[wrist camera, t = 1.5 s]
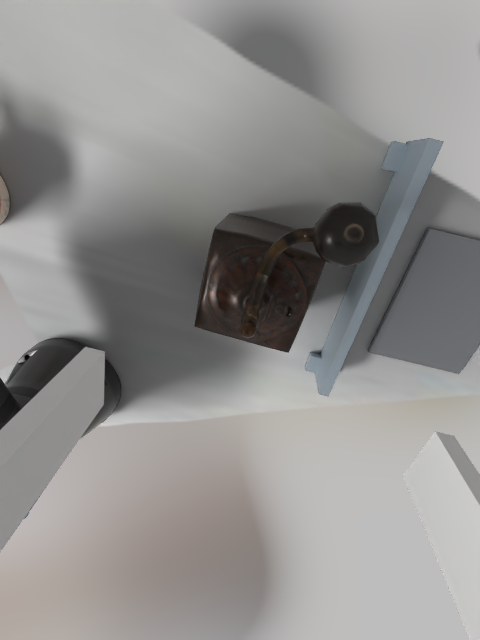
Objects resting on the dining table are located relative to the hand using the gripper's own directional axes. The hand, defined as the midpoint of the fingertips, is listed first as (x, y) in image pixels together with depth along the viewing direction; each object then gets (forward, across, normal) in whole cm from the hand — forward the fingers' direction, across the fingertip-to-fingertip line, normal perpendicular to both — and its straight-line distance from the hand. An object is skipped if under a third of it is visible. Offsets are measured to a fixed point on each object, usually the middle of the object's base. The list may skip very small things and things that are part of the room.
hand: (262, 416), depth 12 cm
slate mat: (+27, +22, -2) cm, 34 cm away
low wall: (+27, +11, -1) cm, 29 cm away
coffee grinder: (+27, 0, 0) cm, 27 cm away
